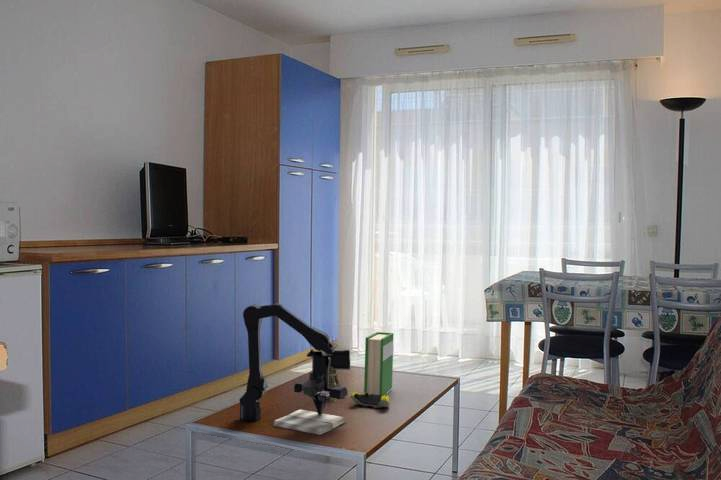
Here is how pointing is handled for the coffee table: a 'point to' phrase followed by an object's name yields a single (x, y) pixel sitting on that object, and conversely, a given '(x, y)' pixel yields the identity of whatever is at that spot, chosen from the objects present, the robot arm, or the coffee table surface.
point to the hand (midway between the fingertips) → (320, 414)
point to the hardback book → (378, 363)
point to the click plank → (318, 417)
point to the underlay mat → (316, 434)
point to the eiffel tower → (331, 378)
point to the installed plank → (303, 425)
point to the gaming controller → (370, 400)
